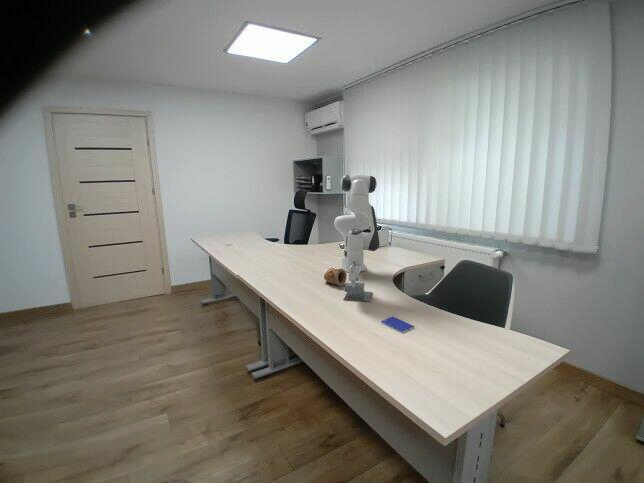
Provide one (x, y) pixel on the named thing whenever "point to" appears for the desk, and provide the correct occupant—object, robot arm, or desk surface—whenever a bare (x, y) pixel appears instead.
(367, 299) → the duct plate
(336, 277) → the clay pipe
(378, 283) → the desk surface
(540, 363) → the desk surface
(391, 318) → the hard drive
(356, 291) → the stepped gray block
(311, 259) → the desk surface
